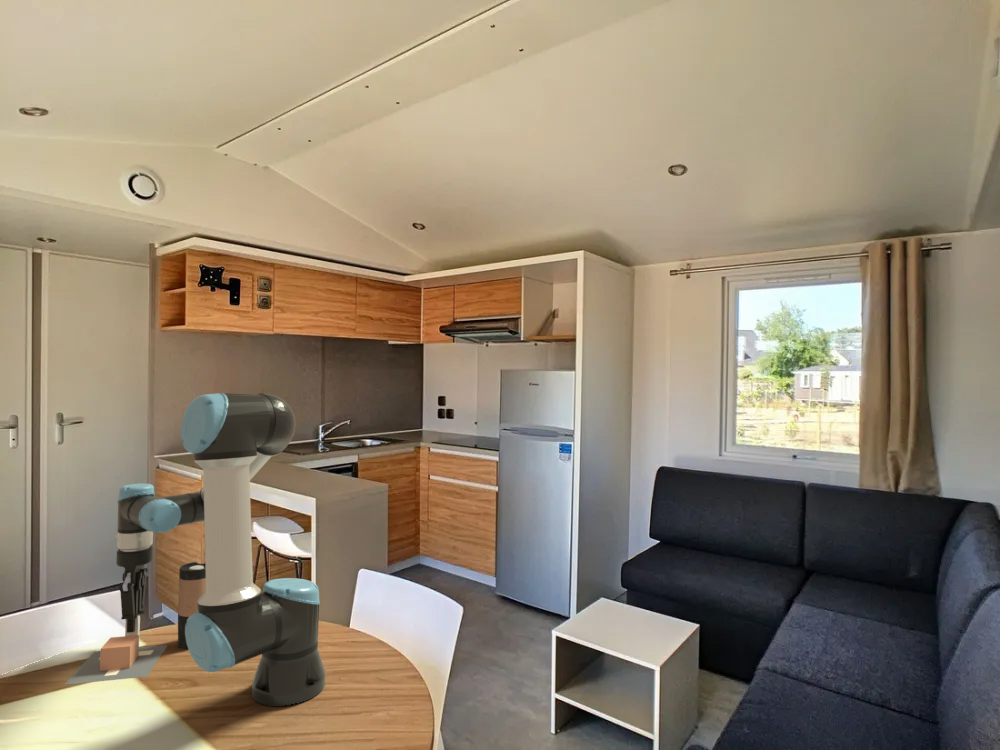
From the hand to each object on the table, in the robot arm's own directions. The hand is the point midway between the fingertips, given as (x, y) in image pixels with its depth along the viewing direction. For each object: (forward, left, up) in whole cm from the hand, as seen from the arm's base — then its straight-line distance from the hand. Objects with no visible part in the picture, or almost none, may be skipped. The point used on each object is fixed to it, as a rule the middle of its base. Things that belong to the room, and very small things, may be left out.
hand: (132, 643), depth 143 cm
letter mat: (-8, 0, -2) cm, 8 cm away
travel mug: (0, -14, -2) cm, 14 cm away
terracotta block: (-8, 0, -1) cm, 8 cm away
